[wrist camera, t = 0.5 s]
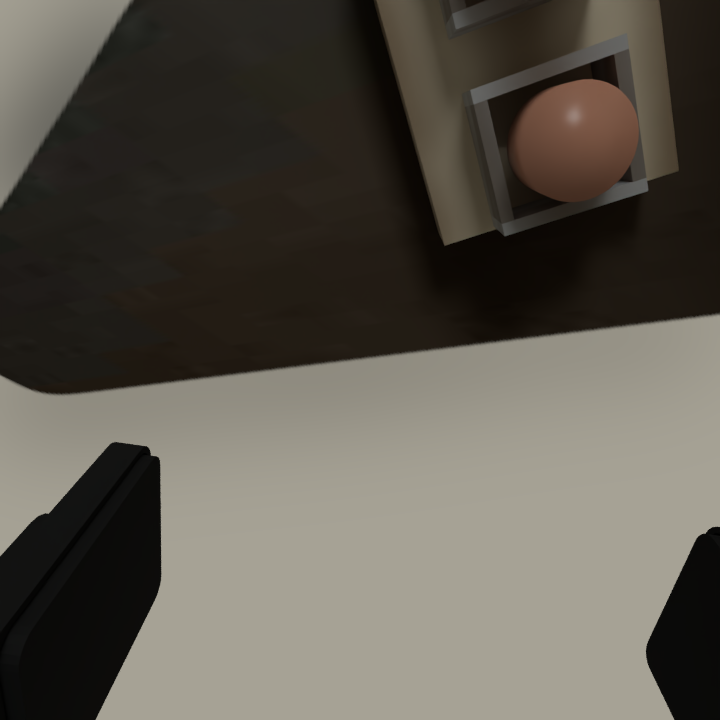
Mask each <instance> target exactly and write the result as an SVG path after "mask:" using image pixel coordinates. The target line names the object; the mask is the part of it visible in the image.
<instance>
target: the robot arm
mask: <svg viewBox="0 0 720 720" xmlns="http://www.w3.org/2000/svg"><path fill="white" fill-rule="evenodd" d="M160 509H161V501H160V460H159V458H158V457H156V456H151V453H150V450H149V448H148V447H147V446H140V445H133V444H125V443H118V442H114V443H111V444H110V445H109V446H108V447H107V448H106V449H105V451H104V452H103V453H102V454H101V455H100V456H99V457H98V458H97V460H96V461H95V462H94V463H93V464H92V465H91V466H90V468H89V469H88V470H87V471H86V472H85V473H84V475H83V476H82V477H81V478H80V479H79V480H78V481H77V482H76V483H75V485H74V486H73V487H72V488H71V489H70V490H69V491H68V493H67V494H66V495H65V496H64V497H63V499H61V501H60V502H59V503H58V504H57V505H56V506H55V507H54V509H53V510H52V511H51V512H50V513H49V514H46V513H45V514H43V515H40V516H38V517H37V518H36V519H35V520H33V521H32V522H31V523H30V524H29V525H28V526H27V527H26V529H25V530H24V531H23V532H22V533H21V534H20V535H19V536H18V538H17V539H16V540H15V541H14V542H13V543H12V544H11V545H10V546H9V547H8V548H7V550H6V551H5V552H4V553H3V554H2V555H1V556H0V720H96V718H97V716H98V713H99V711H100V710H101V708H102V706H103V703H104V701H105V699H106V697H107V695H108V693H109V691H110V689H111V687H112V685H113V683H114V681H115V679H116V677H117V675H118V673H119V671H120V669H121V667H122V665H123V663H124V661H125V659H126V657H127V655H128V653H129V651H130V649H131V646H132V645H133V643H134V641H135V639H136V637H137V635H138V633H139V631H140V629H141V627H142V625H143V623H144V621H145V619H146V617H147V615H148V613H149V611H150V609H151V607H152V605H153V602H154V601H155V598H156V596H157V593H158V590H159V586H160V582H161V510H160ZM646 658H647V663H648V665H649V668H650V670H651V672H652V674H653V676H654V678H655V681H656V683H657V685H658V687H659V689H660V691H661V693H662V695H663V697H664V699H665V701H666V703H667V705H668V707H669V709H670V712H671V714H672V716H673V718H674V720H720V527H712V528H711V529H709V530H708V531H707V532H706V534H702V535H700V536H698V538H697V539H696V541H695V543H694V545H693V547H692V549H691V551H690V554H689V556H688V558H687V560H686V562H685V565H684V566H683V568H682V571H681V573H680V575H679V577H678V579H677V581H676V583H675V585H674V588H673V590H672V592H671V594H670V596H669V598H668V600H667V602H666V605H665V607H664V609H663V611H662V613H661V615H660V617H659V619H658V622H657V624H656V626H655V628H654V630H653V632H652V634H651V636H650V639H649V641H648V643H647V648H646Z"/></svg>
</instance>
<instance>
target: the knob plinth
mask: <svg viewBox="0 0 720 720" xmlns="http://www.w3.org/2000/svg"><path fill="white" fill-rule="evenodd" d="M374 4H375V7H376V11H377V15H378V18H379V22H380V25H381V29H382V33H383V36H384V40H385V43H386V47H387V50H388V54H389V58H390V61H391V65H392V68H393V72H394V75H395V79H396V83H397V86H398V90H399V93H400V97H401V101H402V104H403V108H404V111H405V115H406V118H407V122H408V126H409V129H410V133H411V136H412V140H413V143H414V147H415V151H416V154H417V158H418V161H419V165H420V168H421V172H422V176H423V179H424V183H425V186H426V190H427V194H428V197H429V201H430V204H431V208H432V211H433V215H434V219H435V222H436V226H437V229H438V233H439V235H440V237H441V239H442V241H443V243H444V245H448V244H452V243H455V242H458V241H461V240H464V239H467V238H470V237H473V236H477V235H480V234H483V233H486V232H489V231H492V230H495V229H497V230H498V231H500V232H501V233H502V234H503V235H504V236H508V235H511V234H514V233H517V232H520V231H523V230H526V229H530V228H533V227H536V226H539V225H542V224H545V223H549V222H552V221H555V220H558V219H561V218H564V217H568V216H571V215H574V214H577V213H580V212H583V211H586V210H590V209H593V208H596V207H599V206H602V205H605V204H609V203H612V202H615V201H618V200H621V199H624V198H627V197H631V196H634V195H637V194H640V193H643V192H646V191H648V185H647V181H649V180H652V179H655V178H658V177H661V176H664V175H667V174H670V173H674V172H677V171H679V168H678V159H677V151H676V142H675V133H674V125H673V116H672V107H671V99H670V90H669V81H668V73H667V64H666V55H665V47H664V38H663V29H662V21H661V12H660V3H659V0H374ZM583 79H594V80H601V81H604V82H607V83H609V84H611V85H613V86H615V87H617V88H618V89H619V90H621V91H622V92H623V93H624V94H625V95H626V96H627V98H628V99H629V100H630V102H631V103H632V105H633V107H634V109H635V112H636V115H637V119H638V125H639V138H638V144H637V149H636V152H635V155H634V158H633V160H632V162H631V164H630V166H629V168H628V169H627V171H626V172H625V174H624V175H623V176H622V177H621V179H620V180H619V181H618V182H617V183H616V184H615V185H613V186H612V187H611V188H610V189H608V190H607V191H606V192H604V193H602V194H600V195H599V196H597V197H594V198H592V199H589V200H585V201H580V202H563V201H558V200H555V199H552V198H550V197H547V196H545V195H543V194H540V193H538V192H536V191H534V190H531V189H529V188H528V187H526V186H525V185H524V184H523V183H521V182H520V181H519V180H518V178H517V177H516V176H515V174H514V173H513V171H512V169H511V167H510V164H509V161H508V156H507V137H508V133H509V129H510V126H511V123H512V121H513V119H514V117H515V116H516V114H517V112H518V111H519V110H520V108H521V107H522V106H523V105H524V104H525V103H526V102H527V101H528V100H529V99H530V98H531V97H533V96H534V95H535V94H537V93H539V92H540V91H542V90H545V89H547V88H550V87H553V86H557V85H561V84H565V83H569V82H573V81H577V80H583Z"/></svg>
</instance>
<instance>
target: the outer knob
mask: <svg viewBox="0 0 720 720" xmlns="http://www.w3.org/2000/svg"><path fill="white" fill-rule="evenodd" d="M638 138H639V125H638V119H637V115H636V112H635V109H634V107H633V105H632V103H631V102H630V100H629V99H628V98H627V96H626V95H625V94H624V93H623V92H622V91H621V90H619V89H618V88H617V87H615V86H613V85H611V84H609V83H607V82H604V81H601V80H594V79H583V80H577V81H573V82H569V83H565V84H561V85H557V86H553V87H550V88H547V89H545V90H542V91H540V92H539V93H537V94H535V95H534V96H533V97H531V98H530V99H529V100H528V101H527V102H526V103H525V104H524V105H523V106H522V107H521V108H520V110H519V111H518V112H517V114H516V116H515V117H514V119H513V121H512V123H511V126H510V129H509V133H508V137H507V156H508V161H509V164H510V167H511V169H512V171H513V173H514V174H515V176H516V177H517V178H518V180H519V181H520V182H521V183H523V184H524V185H525V186H526V187H528V188H529V189H531V190H534V191H536V192H538V193H540V194H543V195H545V196H547V197H550V198H552V199H555V200H558V201H563V202H580V201H585V200H589V199H592V198H594V197H597V196H599V195H600V194H602V193H604V192H606V191H607V190H608V189H610V188H611V187H612V186H613V185H615V184H616V183H617V182H618V181H619V180H620V179H621V177H622V176H623V175H624V174H625V172H626V171H627V169H628V168H629V166H630V164H631V162H632V160H633V158H634V155H635V152H636V149H637V144H638Z"/></svg>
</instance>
